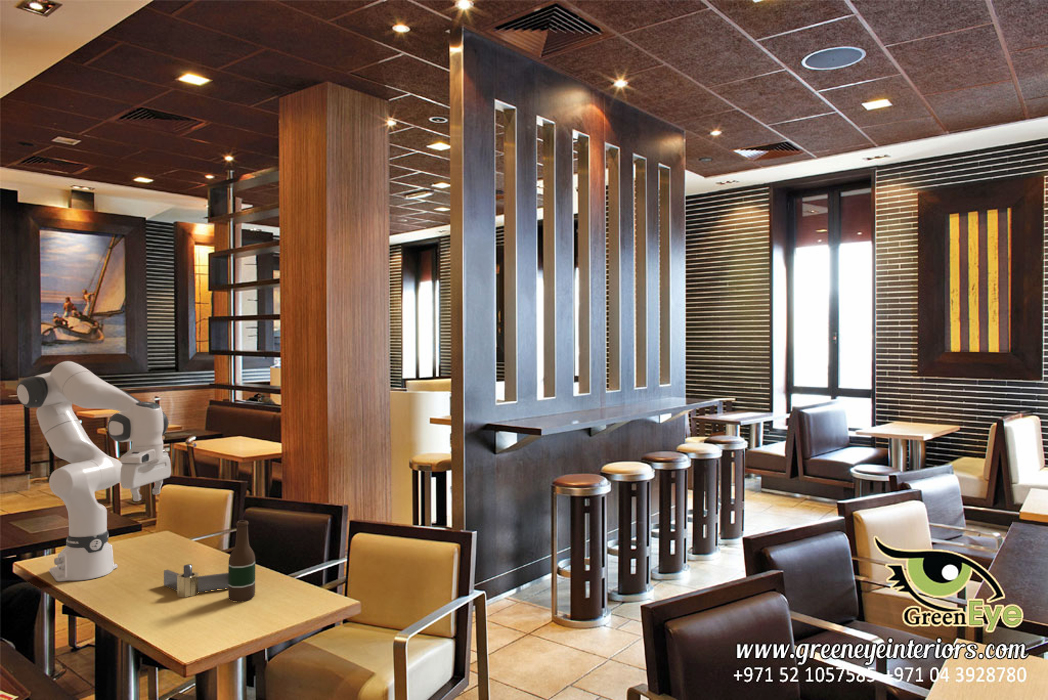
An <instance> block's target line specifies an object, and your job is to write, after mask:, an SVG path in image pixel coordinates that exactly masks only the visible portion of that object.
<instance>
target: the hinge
mask: <svg viewBox="0 0 1048 700" xmlns="http://www.w3.org/2000/svg"><path fill="white" fill-rule="evenodd" d="M164 585H165V586H164ZM163 586H164V587H166V586H168V587H170V588H169V589H171V588H173V589H175V590H174V591H176V590H177V591H176V597H179V598H189V597H188V596H191V597H193V596H192V595H194V596H196V595H198V594H199V593H198V592H203V593H206V592H205V591H211V590H217V589H225V588H228V572H222V573H216V574H215V573H214V574H206V575H205V574H204V575H199V572H196V571H192V576H190V577H184V572H183V573H178V572H175V571H173V570H170V569H164V570H163ZM168 587H167V588H168ZM173 589H172V590H173ZM211 592H212V591H211ZM197 593H198V594H197Z"/></svg>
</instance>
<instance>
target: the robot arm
mask: <svg viewBox="0 0 1048 700" xmlns="http://www.w3.org/2000/svg"><path fill="white" fill-rule="evenodd" d="M15 391H16V397H17V399H18V401H19V402H20V404H21V405H22V406H24V407H25V408H28V409H29V408H30V409H31V408H32V409H35V408H36V412H35V413H36V419H37V421H38V425H39V427H40V430H41V432H42V435H43V436H44V438H45V440H46V441H47V443H48V445H49V447H50V449H51V452H52V453H53V454H54V456H55V457H57V458H59V459H62V460H64V461H66V462H68V464H66V465H63V466H61V467H59V468H57V469H55V470H54V471H52V472H51V474H50V477H49V480H48V486H49V489H50V491H51V492H52V493H53V494H54V495H55V496H57V497H58V498H60V499H61V500H62V502H63V504H64V505H65V507H66V510H67V513H68V514H67V515H68V534H67V538H66V541H65V542H66V543H65V545H66V546H65V547H64V548H63V549H62V550H61V551H60V552H59V553H58V554H57V557H55V558H54V559H53V561H54V565H55V566H53V567H51V568H49V570H48V572H49V573H50V574H51V575H50V576H52V577H53V578H54V580H55V581H56V582H67V581H84V580H85V581H86V580H92V579H95V578H96V579H97V578H100V577H103V576H106V575H109V574H110V573H112V571H114V569H118V564H117V563H115V562H114V551H113V545H112V544H111V543H109V535H110V534H109V530H108V528H107V527H108V510H107V507H106V506H104V505H103V504H102V503H99V502H98V500H97V498H96V495H95V494H96V493H95V492H98V491H102V490H105V489H110V488H111V487H113V486H115V485H117V484H119V483H120V486H121V488H122V489H125V490H126V489H129V490H130V492H131V494H132V500H133V501H134V502H139V501H141V500H142V496H143V495H142V494H140V490H141V487H142V486H145V485H149V484H151V483H154V487H153V488H152V490H151V491H152V495H159V494H161V488H162V485H163V483H164V480H165V479H167V478H170V477H171V475H172V465H171V457H170V456H169V452H168V451H167V450H166V449H164V439H163V436H164V435H165V434H166V432H167V431H168V428H169V425H170V424H169V422H170V421H169V418H168V416H167V414H166V413H165V411H163V408H162V406H161V405H160V404H159V403H157V402H153V401H141V400H140V399H138V398H137V397H135V396H133V395H131V394H130V393H128V392H127V391H125V390H123V389H121V388H119V387H117V386H114V385H112V384H110V383H108V382H106V381H105V380H103V378H100V377H98V376H97V375H96V374H94V373H93V372H92V371H91V370H89V369H87V367H85V366H83V365H81V364H79V363H77V362H74V361H71V360H65V361H62V362H59V363H58V364H56V365H55V366H54V367H53V368H52V369H51V371H49V372H46V373H41V374H37V375H35V376H34V375H32V376H29V377H25V378H24V379H21V380H20V381H19V382H18V384H17V386H16V390H15ZM73 405H75V406H76V407H80V408H82V409H98V410H99V409H101V410H113V411H118V412H116V413H114V414H112V416H111V417H110V418H109V420H108V423H107V433H108V435H109V437H110V438H111V439H112V440H113V441H115V442H120V443H124V442H125V443H126V442H131V448H130V449H128V451H127V452H125V453H123V455H121V456H120V460H119V459H117V458H114V457H112V456H109V455H108V454H106V453H105V452H104V451H102V450H101V449H100V448H99V447H98V446H97V445H96V444H95V443H93V441H92V440H91V439H90V437H89V436H88V433H86V431H85V429H84V427H83V425H82V423H81V422H80V420H79V419H78V417H77V415H76V414H75V412H74V409H73Z"/></svg>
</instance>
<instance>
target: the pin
mask: <svg viewBox="0 0 1048 700" xmlns="http://www.w3.org/2000/svg"><path fill="white" fill-rule="evenodd" d="M192 572H193V564H191V563H190V564H189V563H188V564H184V565H183V573H184V577H190V576H192Z"/></svg>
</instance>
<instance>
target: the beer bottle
mask: <svg viewBox="0 0 1048 700" xmlns="http://www.w3.org/2000/svg"><path fill="white" fill-rule="evenodd" d="M249 524H250V523H249V521H248V520H245V519H244V520H242V519H241V520H238V521H237V522H236V523H235V526H236V531H235V544H234V548H233V550H232V551H231V553H230V555H229V557H228V566H227V567H228V569H227V570H228V572H227V573H228V589H227V590H228V592H227V593H228V596H227V597H228V600H229V599H230V600H229V601H231V602H233V601H237V602H236V603H243V602H242V601H244V602H247V601H251V600H252V599H253V598H254V597H256V596H255V595H256V555H255V552H254V550H253V549H252V547H251V546H250V541H249V526H248V525H249Z"/></svg>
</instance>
